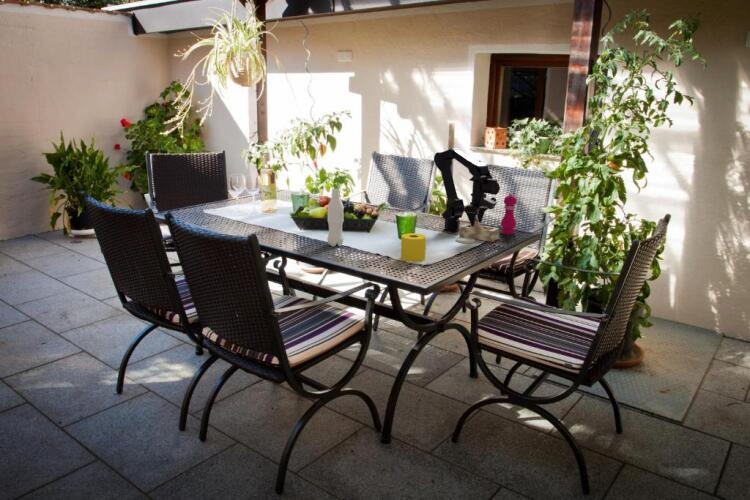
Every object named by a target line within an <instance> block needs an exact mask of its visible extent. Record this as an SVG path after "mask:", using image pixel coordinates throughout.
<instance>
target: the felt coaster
mask: <svg viewBox="0 0 750 500" xmlns="http://www.w3.org/2000/svg"><path fill="white" fill-rule="evenodd" d="M476 240H477V239H473V238H468V237H460V236H459V237H457V238H456V239H455V242H457V243H461V244H473V243H474V242H475V243H476Z"/></svg>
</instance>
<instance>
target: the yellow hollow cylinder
mask: <svg viewBox="0 0 750 500" xmlns="http://www.w3.org/2000/svg"><path fill="white" fill-rule="evenodd" d="M400 240H401V242H400V245H401V246H400V248H401V249H400V259H401V260H402V261H404V262H409V261H411V263H417V261H419V262H423V261H425V260H426V244H427V243H426V242H427V236H426V235H424V234H422V233H416V232H415V233H413V232H412V233H411V232H410V233H404V234H402V235H401V238H400Z"/></svg>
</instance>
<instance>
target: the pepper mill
mask: <svg viewBox="0 0 750 500" xmlns="http://www.w3.org/2000/svg"><path fill="white" fill-rule="evenodd" d="M517 200H518V199H517V198H516V196H514V194H513V192H511V191H510V192H509V193H508V195H506V196H505V197H504V199H503V204H504V209H505V210H504V216H503V218H502V219H501V222H500V226H501V233H502V234H503V235H514V234H515V227H516V226H517V221H516V218H515V215H514V210H516V204H517Z"/></svg>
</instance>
